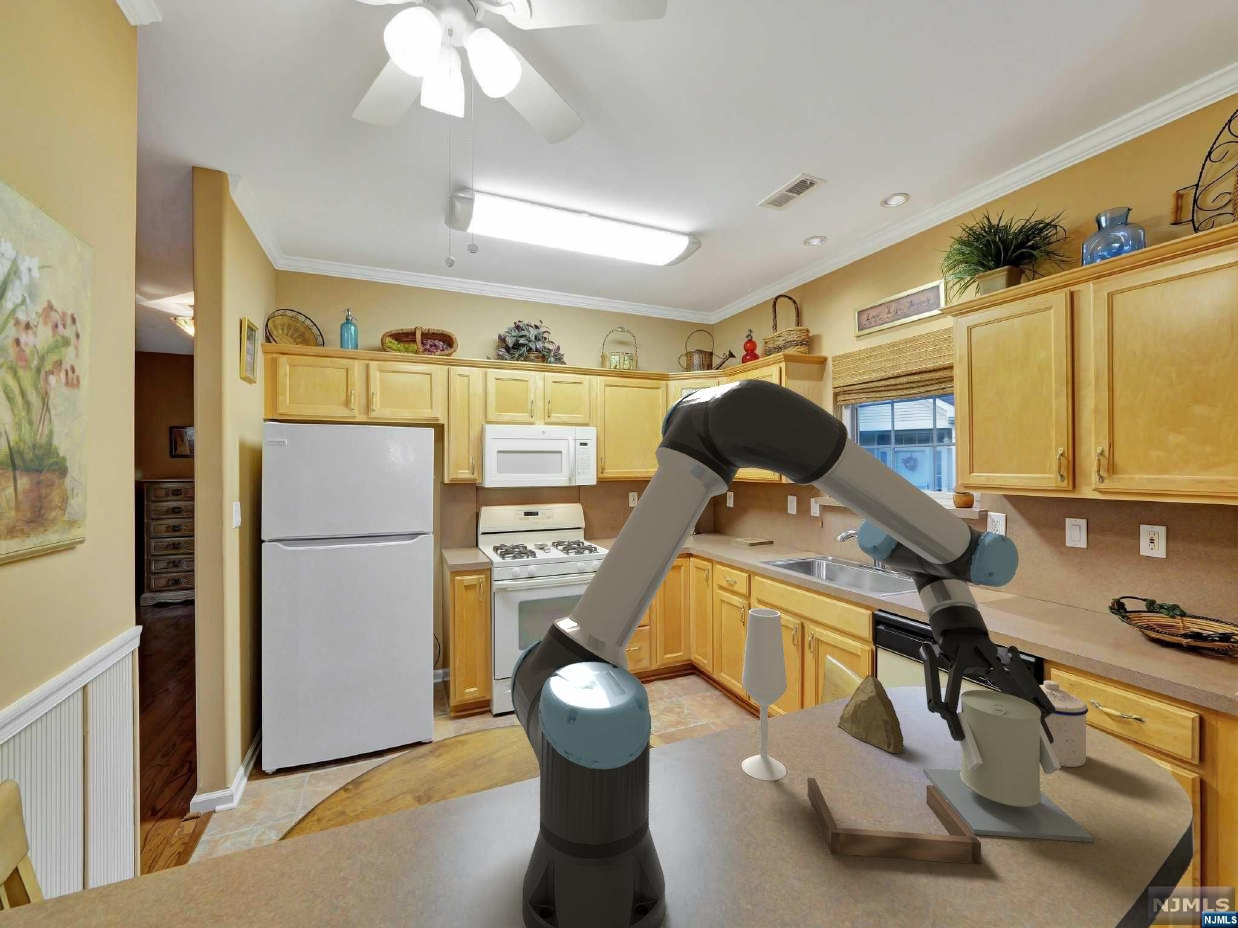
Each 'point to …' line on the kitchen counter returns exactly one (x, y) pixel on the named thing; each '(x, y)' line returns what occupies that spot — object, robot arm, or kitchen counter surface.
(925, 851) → the walnut stall
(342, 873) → the kitchen counter surface
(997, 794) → the can
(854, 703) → the rock
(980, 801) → the slate tile
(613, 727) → the robot arm
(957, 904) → the kitchen counter surface
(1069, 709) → the teacup with lid
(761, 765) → the champagne flute
